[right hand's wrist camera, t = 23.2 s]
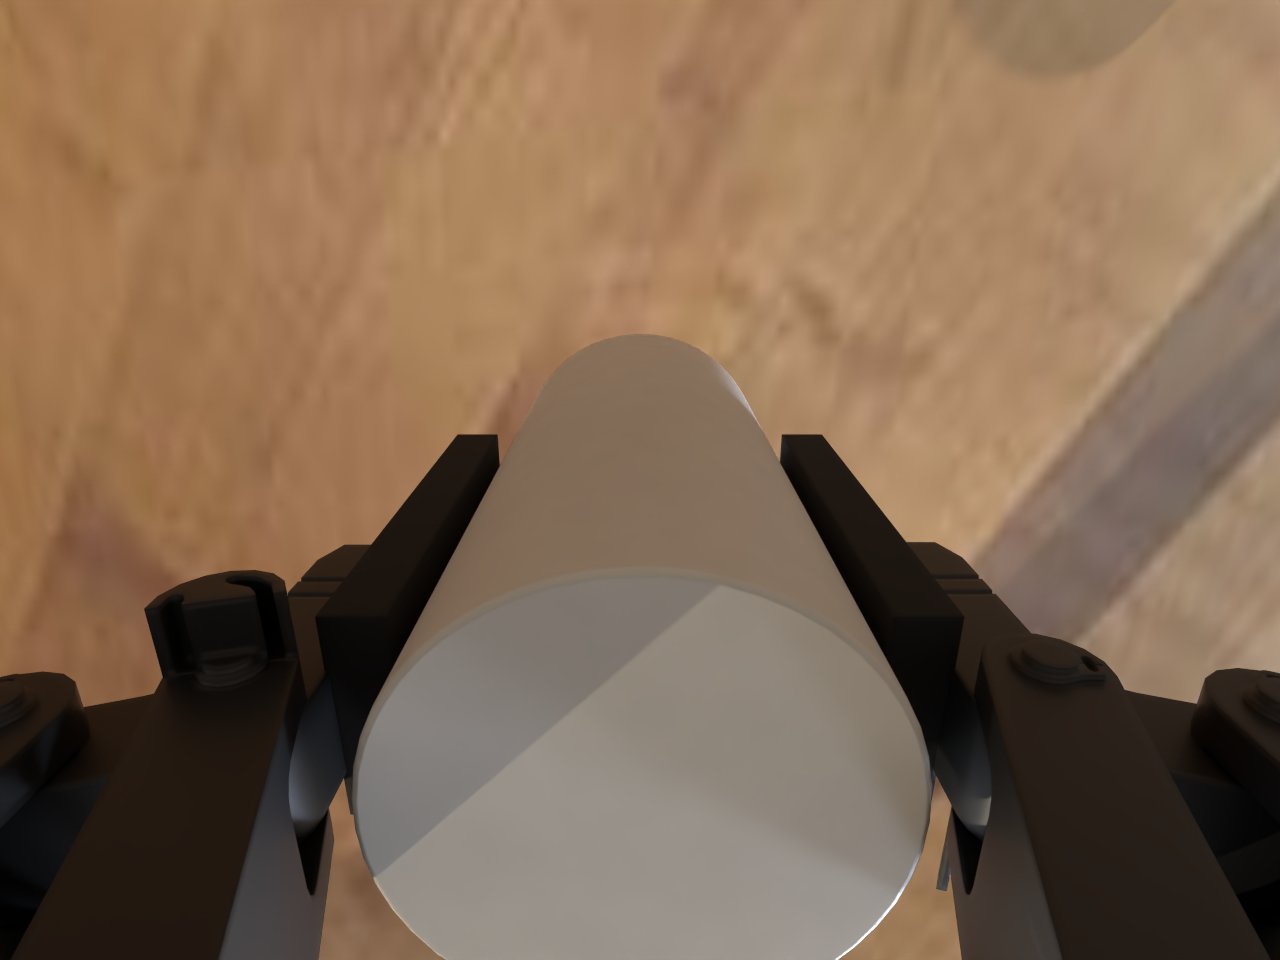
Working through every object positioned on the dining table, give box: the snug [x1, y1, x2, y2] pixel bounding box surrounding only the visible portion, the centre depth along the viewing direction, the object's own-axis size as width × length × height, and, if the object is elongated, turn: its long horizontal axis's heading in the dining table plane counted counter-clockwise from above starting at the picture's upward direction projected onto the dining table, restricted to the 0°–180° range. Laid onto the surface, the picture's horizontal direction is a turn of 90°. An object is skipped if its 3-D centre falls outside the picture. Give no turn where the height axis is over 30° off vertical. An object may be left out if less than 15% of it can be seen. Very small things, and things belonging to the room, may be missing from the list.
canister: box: [352, 334, 932, 960], centre depth 12 cm, size 5×5×11 cm
